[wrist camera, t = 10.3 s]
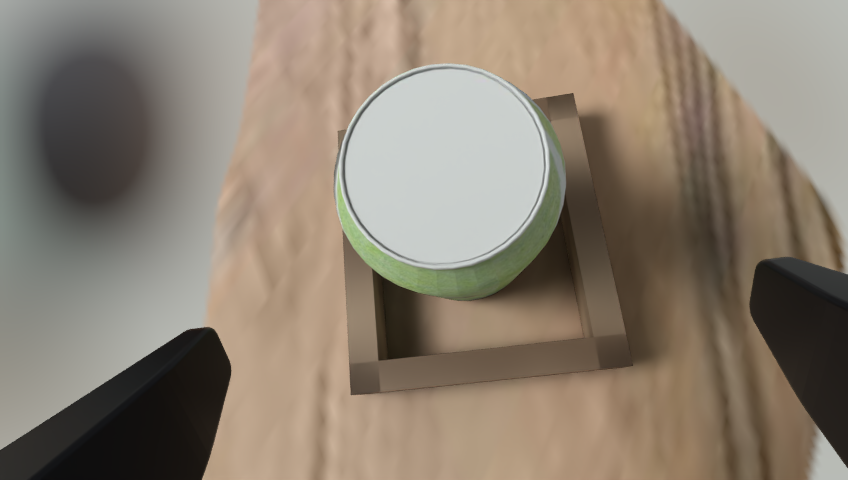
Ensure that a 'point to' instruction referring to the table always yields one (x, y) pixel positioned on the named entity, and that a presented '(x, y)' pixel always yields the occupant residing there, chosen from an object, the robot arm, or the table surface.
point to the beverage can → (449, 181)
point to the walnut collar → (590, 353)
